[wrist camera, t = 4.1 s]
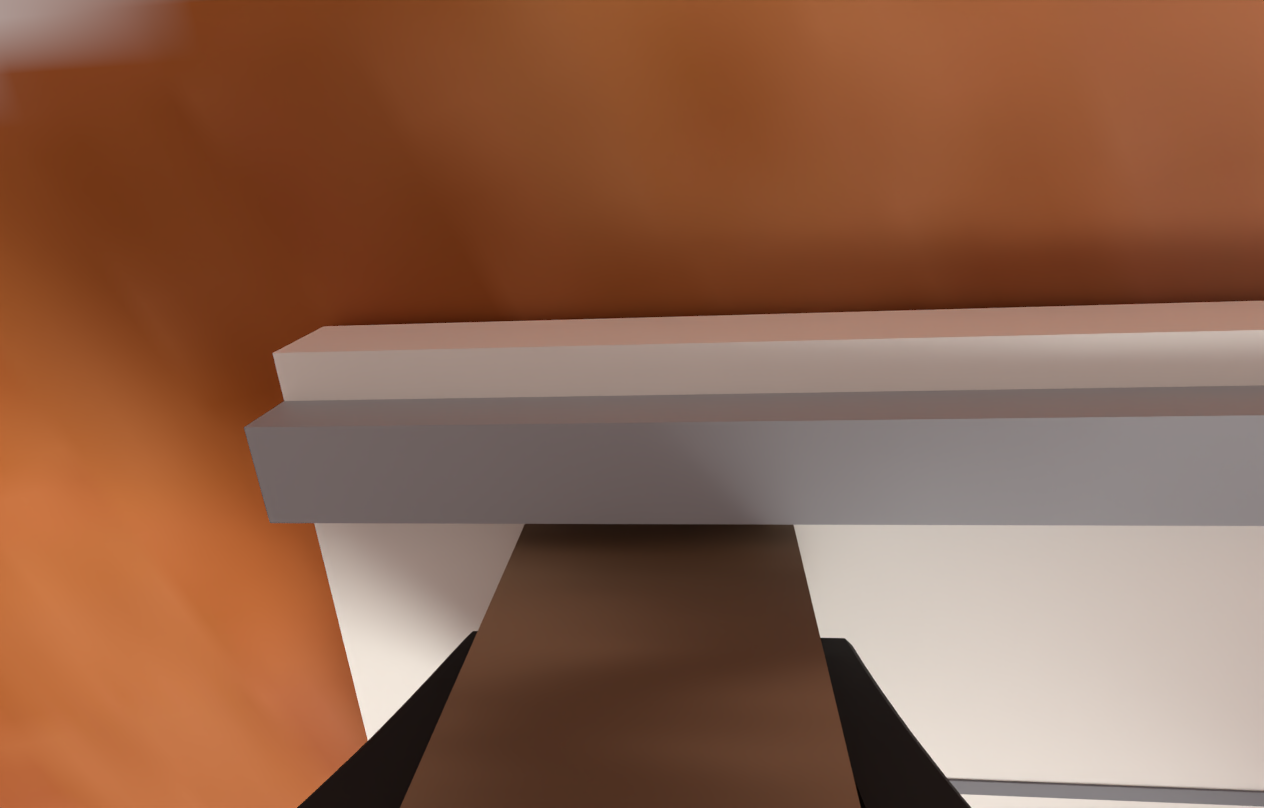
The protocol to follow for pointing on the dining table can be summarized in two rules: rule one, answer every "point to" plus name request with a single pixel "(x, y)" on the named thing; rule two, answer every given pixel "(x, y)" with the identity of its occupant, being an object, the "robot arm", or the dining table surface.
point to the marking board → (841, 509)
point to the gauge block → (643, 678)
